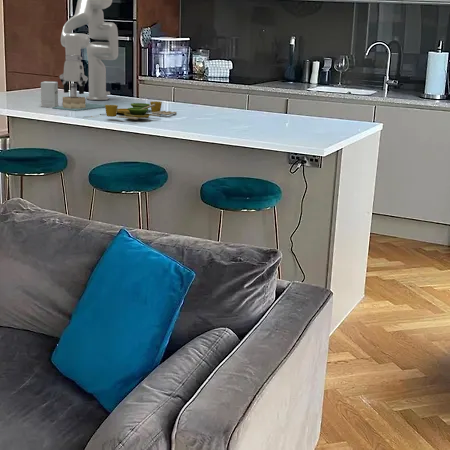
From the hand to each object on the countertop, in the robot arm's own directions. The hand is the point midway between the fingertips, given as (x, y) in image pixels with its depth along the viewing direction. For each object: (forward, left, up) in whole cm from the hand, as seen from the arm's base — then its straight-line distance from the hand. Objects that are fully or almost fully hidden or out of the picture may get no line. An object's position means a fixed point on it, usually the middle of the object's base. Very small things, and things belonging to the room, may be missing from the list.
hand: (73, 93), depth 374 cm
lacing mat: (-7, 0, -8) cm, 10 cm away
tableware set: (-6, +34, -9) cm, 36 cm away
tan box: (0, 0, -7) cm, 7 cm away
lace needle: (0, 0, -7) cm, 7 cm away
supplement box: (+1, -15, -8) cm, 17 cm away
